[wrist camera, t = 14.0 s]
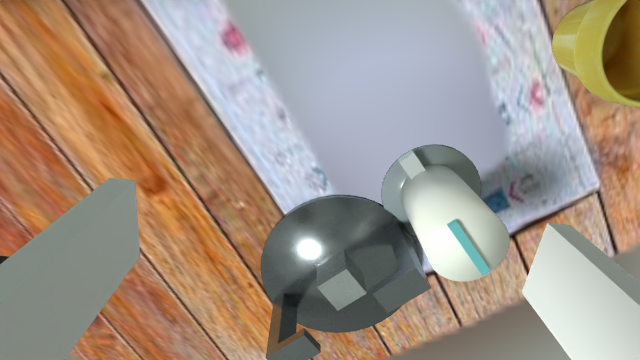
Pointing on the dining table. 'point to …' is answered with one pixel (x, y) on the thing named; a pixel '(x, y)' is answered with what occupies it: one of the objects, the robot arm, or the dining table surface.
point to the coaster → (426, 157)
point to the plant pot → (602, 48)
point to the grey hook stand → (336, 271)
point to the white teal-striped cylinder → (451, 221)
